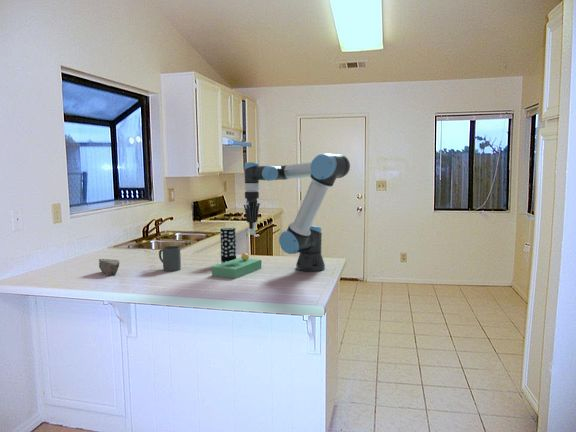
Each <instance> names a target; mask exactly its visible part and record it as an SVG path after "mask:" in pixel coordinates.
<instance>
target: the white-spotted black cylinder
mask: <svg viewBox="0 0 576 432" xmlns="http://www.w3.org/2000/svg"><path fill="white" fill-rule="evenodd" d="M219 231H220V259H221V260H220V264H222V263H225V262H228V261H231V260H234V259H237V244H236V243H237V241H236V239H237V236H236V235H237V234H236V232H237V231H236V228H235V227H223V228H220V230H219Z"/></svg>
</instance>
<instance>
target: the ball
mask: <svg viewBox="0 0 576 432" xmlns="http://www.w3.org/2000/svg"><path fill="white" fill-rule="evenodd" d="M240 258H242V260H244V261H246V260H248V259H250V255H249V254H248V253H247V252H244V253H242V254H241V257H240Z"/></svg>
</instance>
